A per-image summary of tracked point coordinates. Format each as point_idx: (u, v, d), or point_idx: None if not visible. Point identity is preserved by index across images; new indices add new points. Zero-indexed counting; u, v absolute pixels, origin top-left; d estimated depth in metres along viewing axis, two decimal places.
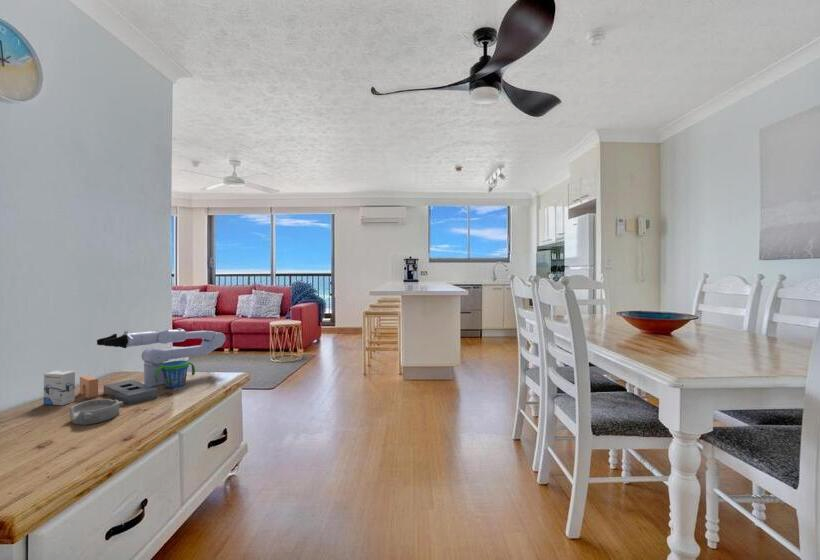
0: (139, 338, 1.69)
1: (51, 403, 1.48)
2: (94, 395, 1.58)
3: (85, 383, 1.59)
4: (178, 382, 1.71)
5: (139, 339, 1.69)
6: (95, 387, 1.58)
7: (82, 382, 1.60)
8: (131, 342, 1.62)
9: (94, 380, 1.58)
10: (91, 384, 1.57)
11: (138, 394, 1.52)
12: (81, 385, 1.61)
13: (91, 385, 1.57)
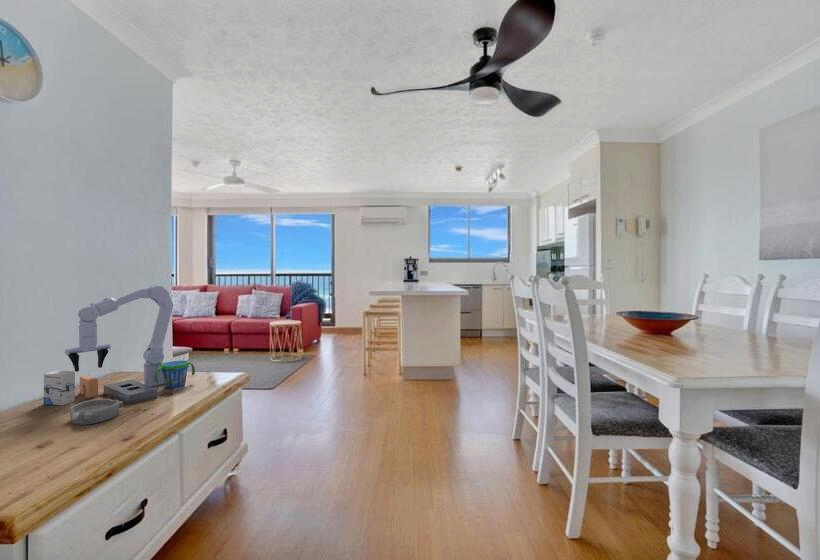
0: (79, 338, 1.58)
1: (51, 403, 1.48)
2: (94, 395, 1.58)
3: (85, 383, 1.59)
4: (178, 382, 1.71)
5: (79, 338, 1.58)
6: (95, 387, 1.58)
7: (82, 382, 1.60)
8: (66, 352, 1.54)
9: (94, 380, 1.58)
10: (91, 384, 1.57)
11: (138, 394, 1.52)
12: (81, 385, 1.61)
13: (91, 385, 1.57)
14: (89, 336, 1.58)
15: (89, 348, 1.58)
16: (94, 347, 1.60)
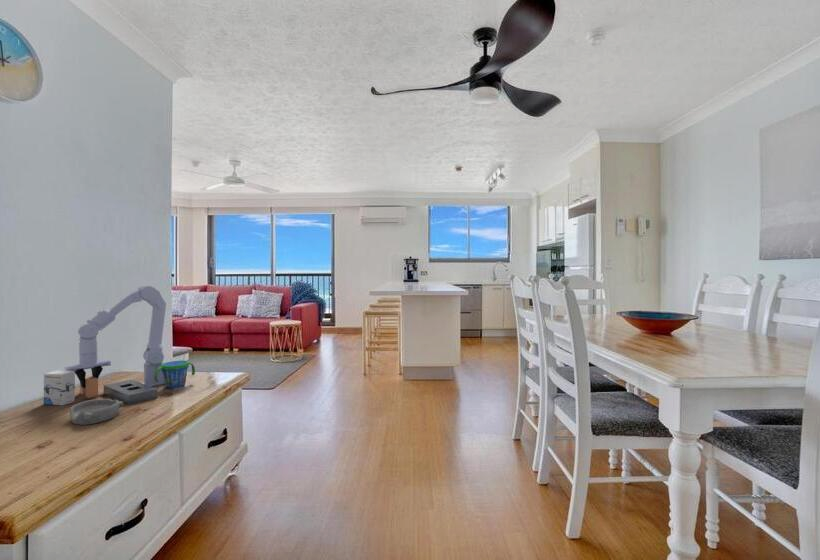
0: (79, 356, 1.58)
1: (51, 403, 1.48)
2: (94, 395, 1.58)
3: (85, 383, 1.59)
4: (178, 382, 1.71)
5: (79, 356, 1.58)
6: (95, 387, 1.58)
7: None
8: (66, 370, 1.54)
9: (94, 380, 1.58)
10: (91, 384, 1.57)
11: (138, 394, 1.52)
12: None
13: (91, 385, 1.57)
14: (89, 353, 1.58)
15: (89, 365, 1.58)
16: (94, 364, 1.60)
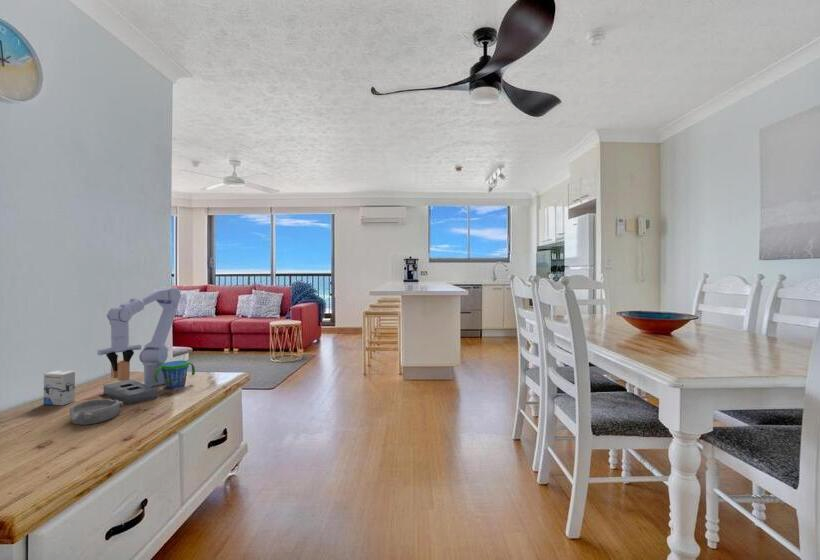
0: (111, 339, 1.57)
1: (51, 403, 1.48)
2: (125, 379, 1.57)
3: (117, 366, 1.58)
4: (178, 382, 1.71)
5: (111, 339, 1.57)
6: (127, 371, 1.57)
7: None
8: (98, 353, 1.53)
9: (126, 364, 1.57)
10: (123, 367, 1.56)
11: (138, 394, 1.52)
12: (112, 369, 1.60)
13: (123, 368, 1.56)
14: (121, 337, 1.58)
15: (121, 349, 1.57)
16: (126, 348, 1.59)
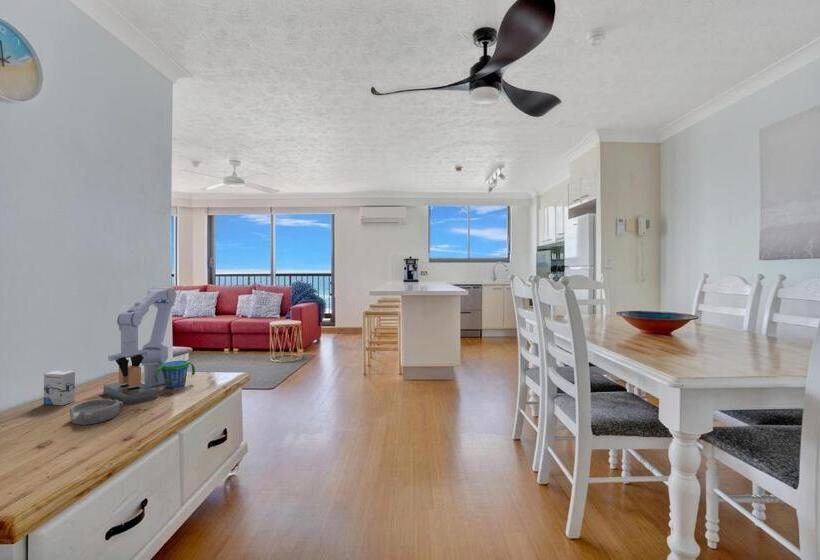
0: (121, 344, 1.57)
1: (51, 403, 1.48)
2: (137, 384, 1.58)
3: None
4: (178, 382, 1.71)
5: (121, 344, 1.57)
6: (138, 375, 1.58)
7: None
8: (110, 358, 1.53)
9: (138, 368, 1.58)
10: (135, 372, 1.57)
11: (138, 394, 1.52)
12: (121, 374, 1.60)
13: (135, 373, 1.57)
14: (132, 342, 1.58)
15: (132, 354, 1.58)
16: (136, 353, 1.59)
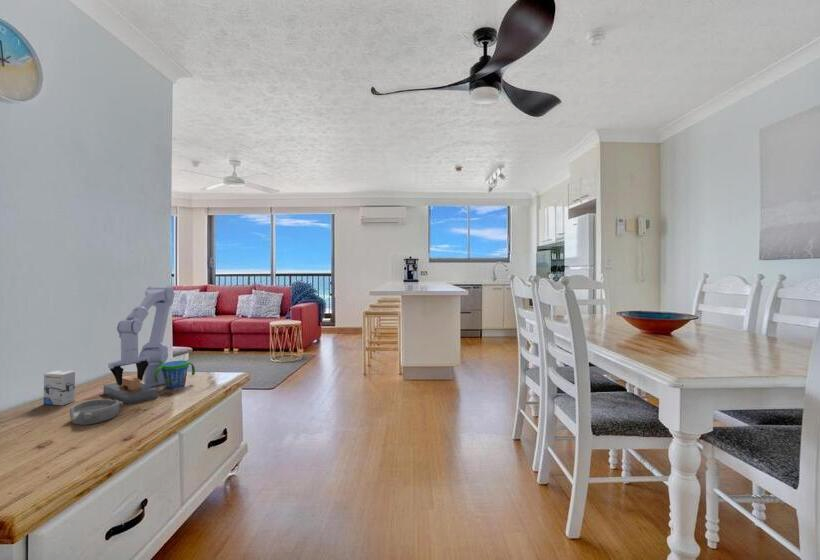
0: (121, 352, 1.57)
1: (51, 403, 1.48)
2: None
3: (127, 384, 1.58)
4: (178, 382, 1.71)
5: (122, 351, 1.57)
6: (137, 387, 1.58)
7: (123, 383, 1.60)
8: (110, 366, 1.53)
9: (136, 380, 1.58)
10: (134, 384, 1.57)
11: (138, 394, 1.52)
12: (121, 386, 1.60)
13: (134, 385, 1.57)
14: (132, 349, 1.58)
15: (132, 361, 1.58)
16: (136, 360, 1.59)
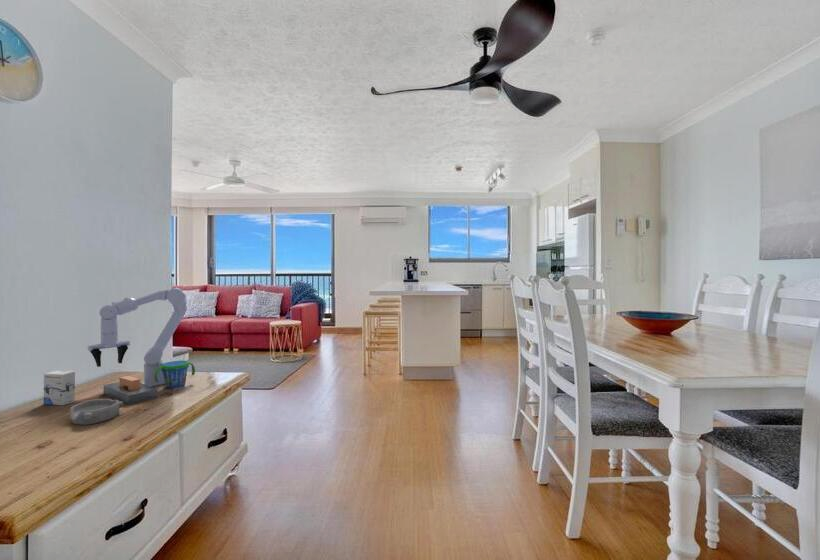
0: (101, 335, 1.66)
1: (51, 403, 1.48)
2: None
3: (127, 384, 1.58)
4: (178, 382, 1.71)
5: (101, 335, 1.66)
6: (137, 387, 1.58)
7: (123, 383, 1.60)
8: (89, 348, 1.62)
9: (136, 380, 1.58)
10: (134, 384, 1.57)
11: (138, 394, 1.52)
12: (121, 386, 1.60)
13: (134, 385, 1.57)
14: (110, 333, 1.66)
15: (110, 344, 1.66)
16: (115, 343, 1.68)
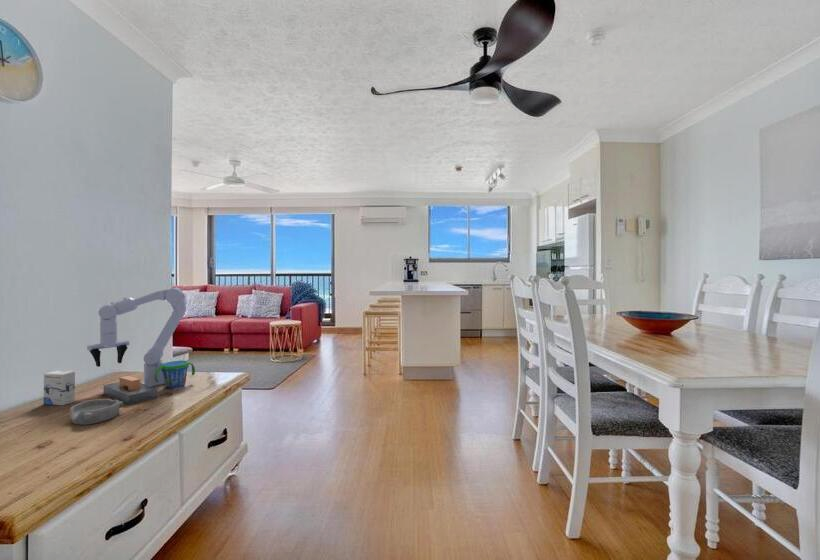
0: (100, 335, 1.66)
1: (51, 403, 1.48)
2: None
3: (127, 384, 1.58)
4: (178, 382, 1.71)
5: (100, 335, 1.66)
6: (137, 387, 1.58)
7: (123, 383, 1.60)
8: (88, 348, 1.62)
9: (136, 380, 1.58)
10: (134, 384, 1.57)
11: (138, 394, 1.52)
12: (121, 386, 1.60)
13: (134, 385, 1.57)
14: (110, 333, 1.67)
15: (110, 344, 1.67)
16: (114, 343, 1.68)
